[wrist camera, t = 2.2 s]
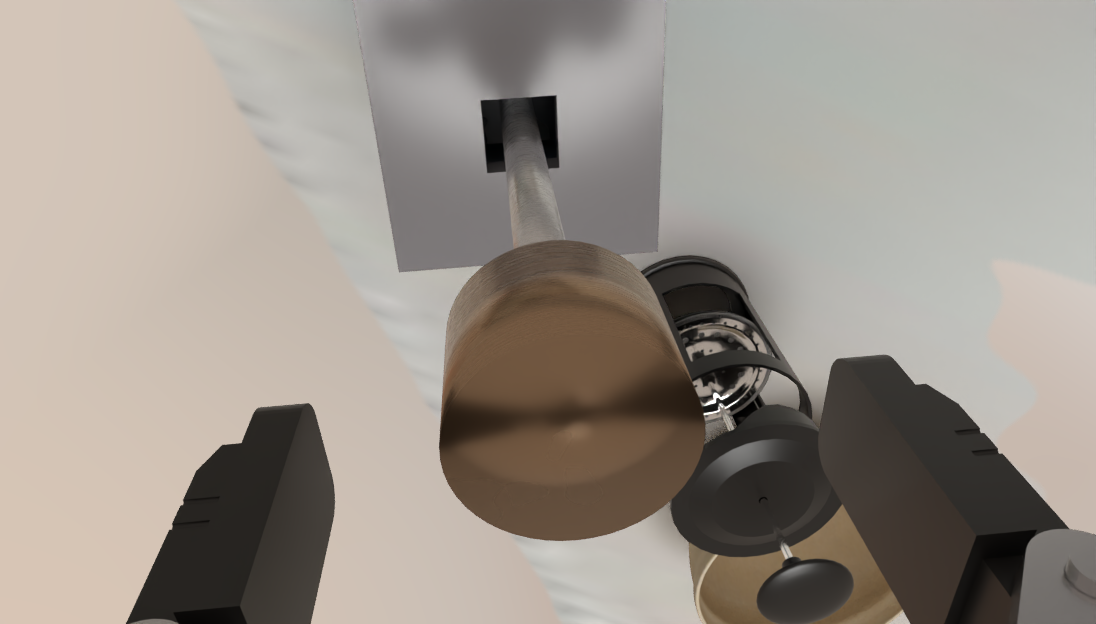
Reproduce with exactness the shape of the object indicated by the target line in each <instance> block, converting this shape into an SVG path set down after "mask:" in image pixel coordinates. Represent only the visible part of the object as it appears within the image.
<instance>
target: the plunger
mask: <svg viewBox="0 0 1096 624" xmlns="http://www.w3.org/2000/svg"><path fill="white" fill-rule="evenodd" d="M481 107H482V117H483V128H484V139H485V144H496V143H503V147H504V157H505V167H506V177H507V187H508V197H509V207H510V217H511V227H512V237H513V247H514V249H513V250H510V251H508V252H506V253H504V254H502V255H500V256H498V257H496V258H494V259H493V260H491V261H490V262H489V263H487V264H486V265H484V266H483V267H482V268H480V269H479V270H478V271H477V272H476V273H475V274H474V275H473V276H472V277H471V278H470V279H469V280H468V282H467V283H466V284H465V285H464V286H463V288H462V289H461V291H460V293H459V294H458V296H457V297H456V299H455V301H454V304H453V306H452V308H451V311H450V314H449V318H448V322H447V331H446V345H445V361H444V377H443V393H442V410H441V426H440V442H439V450H440V460H441V465H442V469H443V473H444V475H445V477H446V480H447V482H448V484H449V486H450V487H451V489H452V491H453V492H454V493H455V495H456V497H457V498H458V499H459V500H460V501H461V502H462V503H463V504H464V505H465V507H467V508H468V509H469V510H470V511H471V512H473V513H474V514H475V515H476V516H478V517H479V518H481V519H482V520H484V521H486V522H487V523H489V524H491V525H493V526H495V527H497V528H499V529H501V530H504V531H507V532H510V533H512V534H515V535H519V536H524V537H528V538H533V539H541V540H554V541H567V540H581V539H588V538H594V537H598V536H602V535H607V534H610V533H613V532H616V531H619V530H622V529H625V528H627V527H629V526H631V525H634V524H636V523H638V522H640V521H642V520H643V519H645V518H647V517H649V516H650V515H652V514H653V513H655V512H656V511H658V510H659V509H660V508H662V507H663V506H665V505H666V504H667V503H668V502H669V501H670V500H671V499H672V498H674V497H675V496H676V494H677V493H678V492H679V491H680V490H681V489H682V488H683V487H684V486H685V484H686V483H687V481H688V480H689V478H690V477H691V475H692V474H693V472H694V470H695V468H696V466H697V464H698V462H699V460H700V457H701V454H702V451H703V447H704V441H705V417H704V412H703V407H702V405H701V402H700V399H699V396H698V394H697V392H696V389H695V387H694V384H693V382H692V380H691V377H690V375H689V372H688V370H687V368H686V365H685V363H684V361H683V358H682V356H681V353H680V351H679V349H678V346H677V344H676V341H675V339H674V337H673V334H672V332H671V330H670V327H669V325H668V322H667V320H666V318H665V315H664V313H663V311H662V308H661V306H660V303H659V301H658V299H657V296H656V294H655V292H654V290H653V289H652V287H651V285H650V283H649V282H648V281H647V279H646V278H645V277H644V275H643V274H642V273H641V272H640V271H639V270H638V269H637V268H636V267H635V266H634V265H633V264H631V263H630V262H628V261H627V260H626V259H624V258H623V257H621V256H620V255H618V254H616V253H614V252H612V251H610V250H608V249H605V248H602V247H600V246H597V245H593V244H589V243H585V242H579V241H569V240H565V237H564V232H563V228H562V224H561V220H560V216H559V212H558V207H557V203H556V199H555V195H554V191H553V187H552V182H551V178H550V174H549V170H548V166H547V162H546V157H545V153H544V149H543V145H542V141H541V140H552V139H556V131H555V107H554V95H552V96H537V97H523V98H508V99H494V100H481Z"/></svg>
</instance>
